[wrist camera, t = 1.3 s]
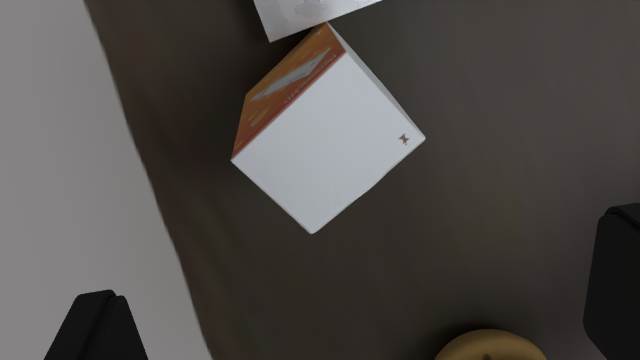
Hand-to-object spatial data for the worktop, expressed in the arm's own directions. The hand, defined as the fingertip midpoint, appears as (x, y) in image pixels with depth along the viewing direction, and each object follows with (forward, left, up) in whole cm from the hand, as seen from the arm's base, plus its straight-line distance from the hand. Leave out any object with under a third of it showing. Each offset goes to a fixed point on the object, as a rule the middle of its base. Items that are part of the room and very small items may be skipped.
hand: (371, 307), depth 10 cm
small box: (0, +3, -28) cm, 28 cm away
